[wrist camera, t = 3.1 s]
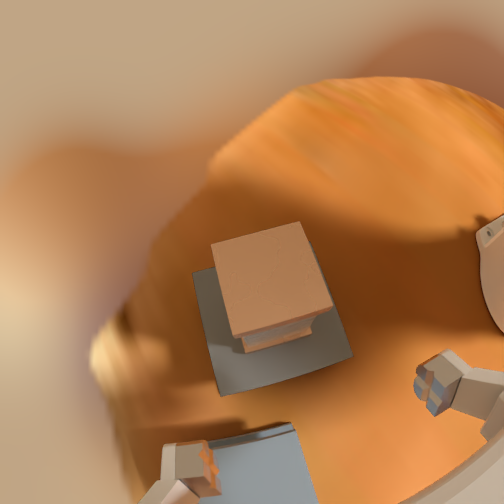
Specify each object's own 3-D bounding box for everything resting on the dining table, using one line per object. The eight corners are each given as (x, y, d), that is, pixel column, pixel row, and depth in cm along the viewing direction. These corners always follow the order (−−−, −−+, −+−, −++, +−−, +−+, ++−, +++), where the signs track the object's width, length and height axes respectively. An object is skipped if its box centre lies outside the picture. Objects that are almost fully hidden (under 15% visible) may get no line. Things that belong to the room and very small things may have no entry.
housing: (290, 277, 22) (299, 220, 15) (310, 335, 20) (333, 305, 13) (230, 294, 22) (210, 244, 14) (246, 354, 19) (232, 335, 12)
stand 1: (303, 265, 28) (309, 241, 23) (338, 362, 23) (353, 356, 19) (204, 292, 27) (191, 272, 23) (230, 394, 23) (220, 396, 18)
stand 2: (290, 422, 21) (296, 430, 17) (318, 509, 17) (327, 531, 12) (181, 444, 20) (162, 455, 16) (212, 529, 16) (201, 552, 11)
